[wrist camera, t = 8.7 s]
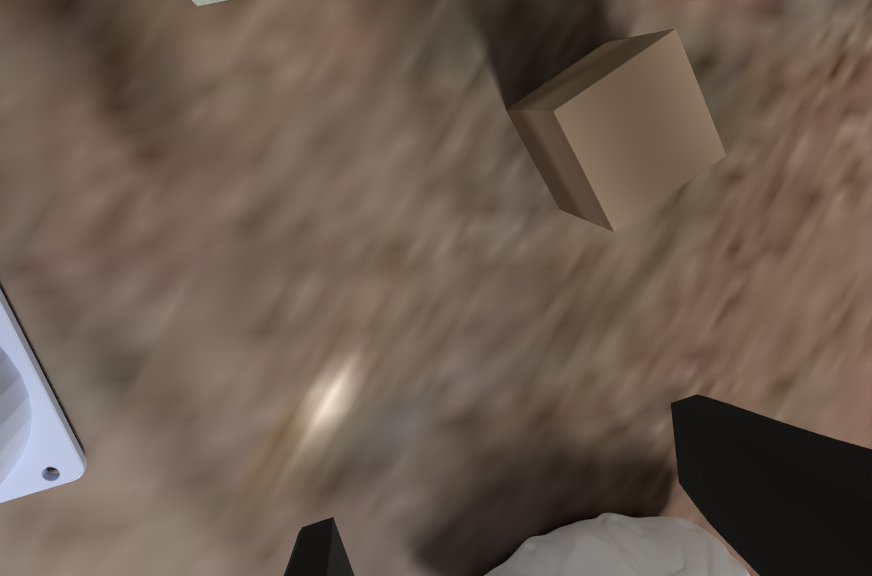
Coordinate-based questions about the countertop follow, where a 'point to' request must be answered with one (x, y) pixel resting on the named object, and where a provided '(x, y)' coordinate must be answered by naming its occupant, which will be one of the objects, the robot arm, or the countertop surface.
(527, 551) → the bust
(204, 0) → the tray
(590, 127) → the walnut cube
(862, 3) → the countertop surface
